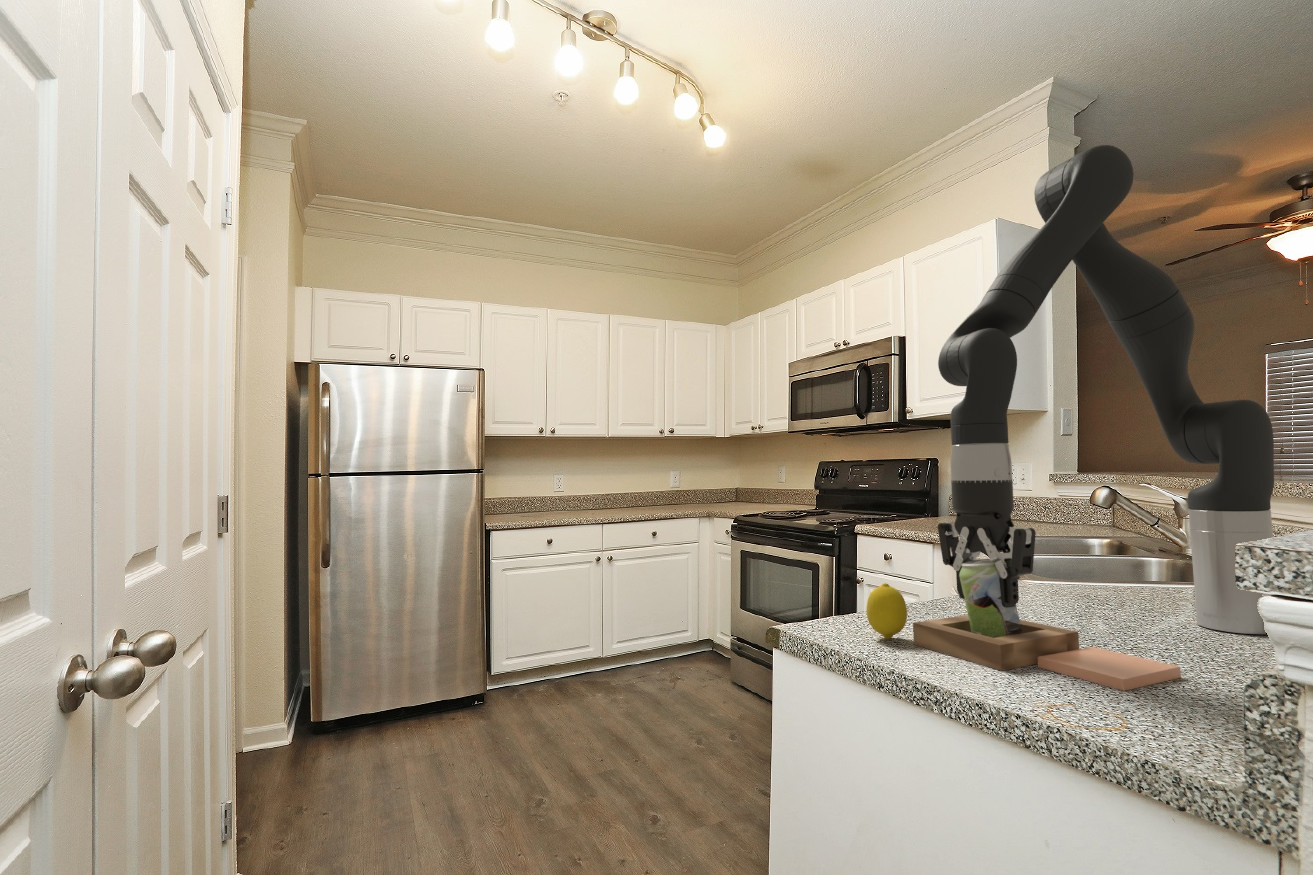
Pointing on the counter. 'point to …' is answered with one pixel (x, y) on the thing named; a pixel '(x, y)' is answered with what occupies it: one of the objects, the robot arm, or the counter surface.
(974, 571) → the beverage can
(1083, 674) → the plate
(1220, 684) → the counter surface
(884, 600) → the lemon
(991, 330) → the robot arm
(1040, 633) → the board
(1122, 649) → the counter surface
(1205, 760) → the counter surface
